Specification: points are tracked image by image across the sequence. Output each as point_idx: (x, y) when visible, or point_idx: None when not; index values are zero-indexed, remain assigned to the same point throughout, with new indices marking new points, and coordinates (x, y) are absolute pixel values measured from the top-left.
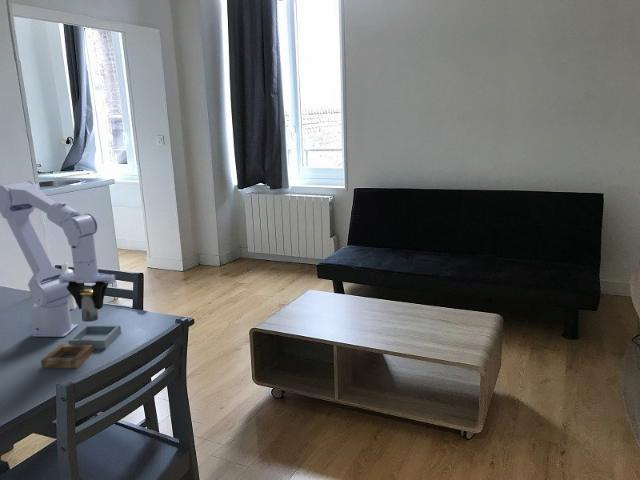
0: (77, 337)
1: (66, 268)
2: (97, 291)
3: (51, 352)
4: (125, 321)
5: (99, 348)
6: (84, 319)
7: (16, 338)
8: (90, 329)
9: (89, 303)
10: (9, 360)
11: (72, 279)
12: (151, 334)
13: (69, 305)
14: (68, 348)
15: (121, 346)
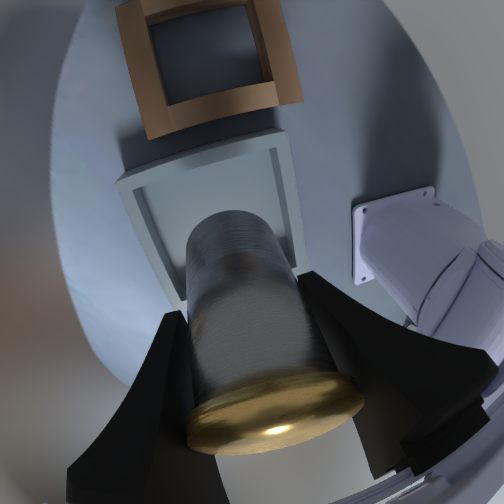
0: (280, 184)
1: None
2: (109, 451)
3: (282, 30)
4: None
5: (147, 163)
6: (235, 216)
7: (454, 170)
8: None
9: (206, 319)
10: (401, 35)
11: (480, 497)
12: (84, 312)
13: None
14: (245, 86)
15: (91, 213)
